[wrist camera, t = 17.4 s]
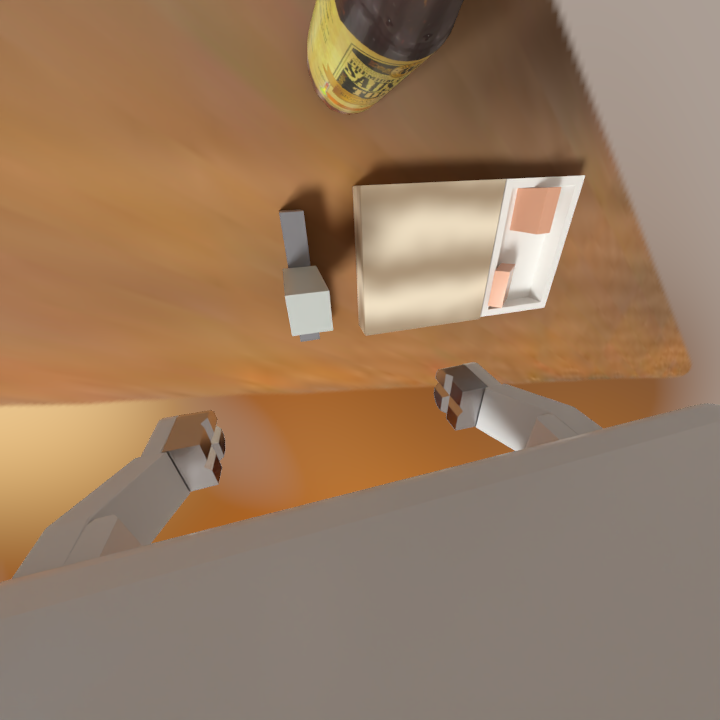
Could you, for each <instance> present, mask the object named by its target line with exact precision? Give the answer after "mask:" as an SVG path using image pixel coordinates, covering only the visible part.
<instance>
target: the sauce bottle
mask: <svg viewBox="0 0 720 720" xmlns="http://www.w3.org/2000/svg"><path fill="white" fill-rule="evenodd" d="M463 1H464V0H316V4H315V7H314V11H313V15H312V19H311V23H310V28H309V33H308V42H307V62H308V71H309V76H310V80H311V82H312V85H313V87H314V90H315V91H316V93H317V94H318V96H319V97H320V99H321V100H322V101H323V102H324V103H325V104H326V105H327V106H328V107H329V108H330V109H332V110H334V111H336V112H339V113H344V114H348V115H350V114H353V113H355V114H357V113H359V112H363V111H365V110H367V109H369V108H371V107H372V106H373V105H374V104H375V103H376V102H378V101H379V100H380V99H381V98H382V97H383V96H385V95H386V94H387V93H388V92H389V91H390V90H391V89H393V88H394V87H395V86H396V85H397V84H399V83H400V82H401V81H402V80H403V79H404V78H406V77H407V76H408V75H409V74H410V73H411V72H412V71H413V70H415V69H416V68H417V67H418V66H419V65H421V64H422V63H423V62H424V61H425V60H426V59H428V58H429V57H430V56H431V55H432V54H433V53H434V52H435V51H437V50H438V49H439V48H440V47H441V46H442V44H443V43H444V42H445V41H446V39H447V38H448V36H449V35H450V33H451V30H452V28H453V26H454V23H455V21H456V18H457V15H458V13H459V10H460V7H461V5H462V3H463Z"/></svg>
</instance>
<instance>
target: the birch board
mask: <svg viewBox="0 0 720 720" xmlns="http://www.w3.org/2000/svg"><path fill="white" fill-rule="evenodd" d="M505 183H506V179H494V180H472V181H450V182H428V183H406V184H384V185H362V186H353V205H354V227H355V249H356V270H357V292H358V314H359V326H360V327H361V329H362V331H363V332H364V334H365V336H367V335H374V334H381V333H388V332H394V331H401V330H408V329H415V328H421V327H428V326H435V325H442V324H448V323H455V322H462V321H469V320H475V319H480V315H481V309H482V304H483V299H484V294H485V288H486V283H487V278H488V273H489V267H490V262H491V257H492V252H493V246H494V241H495V236H496V230H497V225H498V220H499V215H500V209H501V204H502V199H503V194H504V188H505Z"/></svg>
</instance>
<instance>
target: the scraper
mask: <svg viewBox="0 0 720 720" xmlns="http://www.w3.org/2000/svg"><path fill="white" fill-rule="evenodd" d="M279 214H280V220H281V226H282V232H283V238H284V244H285V250H286V256H287V262H288V268H286V269H283V277H284V291H285V299H286V305H287V310H288V316H289V321H290V327H291V332H292V336H296V335H300V340H301V342H302V341H309V340H316V339H320V336H319V332H325V331H332V330H333V324H332V314H331V304H330V293H329V289H328V287H327V286H326V284H325V282H324V280H323V278H322V276H321V274H320V272H319V270H318V268H317V267H316V266H311V265H310V258H309V250H308V242H307V234H306V226H305V218H304V211H303V210H301V209H297V210H281V211H279Z"/></svg>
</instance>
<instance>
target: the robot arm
mask: <svg viewBox="0 0 720 720" xmlns="http://www.w3.org/2000/svg"><path fill="white" fill-rule="evenodd" d="M436 379H437V381H438V384H437V385H436V386H435V388H434V398H435V402H436V404H437V406H438V408H439V409H440V410H441V411H443V412H445V413H447V417H446V418H447V420H448V421H449V423H450V424H451V425H452V427H453V428H454V429H455V430H460V429H464V428H470V427H475V426H476V428H478V429H480V430H481V431H483V432H485V433H486V434H488V435H490V436H491V437H493V438H495V439H496V440H498V441H500V442H501V443H503V444H505V445H507V446H508V447H510V448H512V449H513V450H515V451H514V452H510V453H506V454H502V455H498V456H494V457H490V458H487V459H482V460H478V461H475V462H471V463H467V464H463V465H459V466H455V467H451V468H447V469H443V470H439V471H435V472H431V473H427V474H423V475H419V476H416V477H412V478H408V479H404V480H400V481H396V482H392V483H388V484H384V485H380V486H376V487H372V488H368V489H365V490H360V491H357V492H353V493H349V494H345V495H341V496H337V497H333V498H329V499H325V500H321V501H317V502H313V503H309V504H306V505H302V506H298V507H294V508H290V509H286V510H282V511H278V512H274V513H270V514H266V515H262V516H258V517H254V518H251V519H247V520H243V521H239V522H235V523H231V524H227V525H223V526H219V527H215V528H211V529H208V530H204V531H199V532H196V533H192V534H188V535H184V536H180V537H176V538H172V539H168V540H164V541H160V542H156V543H152V544H151V542H152V541H153V540H154V539H155V537H156V536H157V535H158V534H159V532H160V531H161V530H162V528H163V527H164V526H165V524H166V523H167V522H168V520H169V519H170V518H171V517H172V515H173V514H174V513H175V512H176V511H177V509H178V508H179V507H180V505H181V504H182V503H183V502H184V500H185V499H186V498H187V496H188V495H189V494H190V491H194V490H198V489H202V488H206V487H210V486H214V485H218V484H219V480H220V475H221V470H222V466H221V464H220V460H221V459H222V458H223V457H224V453H225V438H224V434H223V431H222V429H221V428H219V427H217V426H216V424H217V417H216V415H215V413H214V411H212V410H210V411H204V412H197V413H191V414H184V415H179V416H173V417H167V418H163V419H161V420H160V421H159V422H158V424H157V426H156V428H155V430H154V432H153V434H152V436H151V438H150V440H149V442H148V444H147V446H146V447H145V449H144V452H143V453H142V456H141V457H139V458H135V459H134V460H133V461H131V462H130V463H129V464H127V465H126V466H125V467H123V468H122V469H121V470H120V471H118V472H117V473H116V474H115V475H114V476H112V477H111V478H110V479H108V480H107V481H106V482H104V483H103V484H102V485H101V486H99V487H98V488H97V489H96V490H94V491H93V492H92V493H90V494H89V495H88V496H87V497H86V498H84V499H83V500H82V501H80V502H79V503H78V504H76V505H75V506H74V507H73V508H71V509H70V510H69V511H68V512H66V513H65V514H64V515H62V516H61V517H60V518H59V519H57V520H56V521H55V522H54V523H52V524H51V525H50V526H48V527H47V528H46V529H45V531H44V532H43V534H42V535H41V536H40V538H39V539H38V541H37V542H36V544H35V545H34V547H33V548H32V550H31V551H30V553H29V554H28V555H27V557H26V558H25V560H24V561H23V563H22V565H21V566H20V567H19V569H18V570H17V572H16V573H15V575H14V576H13V578H12V579H11V580H8V581H3V582H0V720H720V405H715V404H699V405H694V406H690V407H686V408H683V409H678V410H675V411H671V412H667V413H663V414H659V415H655V416H652V417H647V418H644V419H639V420H635V421H631V422H628V423H624V424H620V425H616V426H612V427H608V428H604V429H602V428H601V427H600V426H599V425H597V424H596V423H595V422H593V421H592V420H591V419H589V418H588V417H587V416H585V415H584V414H583V413H581V412H580V411H579V410H577V409H576V408H574V407H572V406H569V405H566V404H563V403H560V402H557V401H554V400H551V399H548V398H545V397H542V396H540V395H537V394H534V393H531V392H528V391H525V390H522V389H519V388H516V387H513V386H510V385H507V384H500V383H499V382H498V381H497V380H496V379H495V378H494V377H492V376H491V375H490V374H489V373H488V372H487V371H486V370H484V369H483V368H482V367H481V366H480V365H479V364H477V363H475V362H471V363H467V364H462V365H459V366H454V367H448V368H443V369H438V371H437V373H436Z"/></svg>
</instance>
